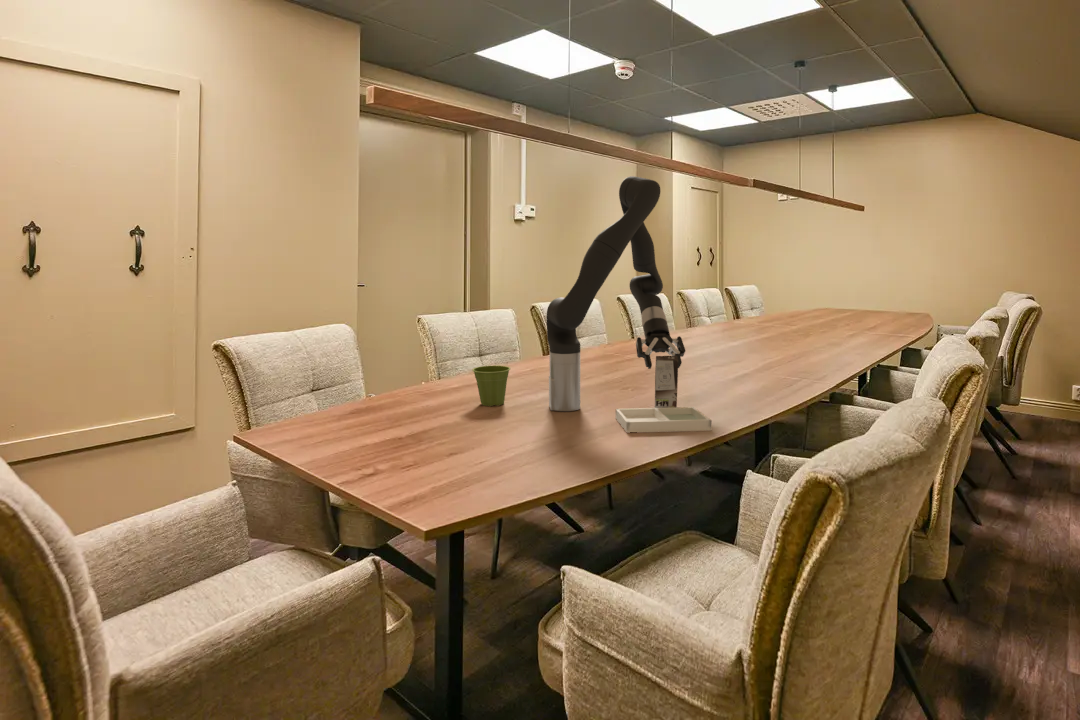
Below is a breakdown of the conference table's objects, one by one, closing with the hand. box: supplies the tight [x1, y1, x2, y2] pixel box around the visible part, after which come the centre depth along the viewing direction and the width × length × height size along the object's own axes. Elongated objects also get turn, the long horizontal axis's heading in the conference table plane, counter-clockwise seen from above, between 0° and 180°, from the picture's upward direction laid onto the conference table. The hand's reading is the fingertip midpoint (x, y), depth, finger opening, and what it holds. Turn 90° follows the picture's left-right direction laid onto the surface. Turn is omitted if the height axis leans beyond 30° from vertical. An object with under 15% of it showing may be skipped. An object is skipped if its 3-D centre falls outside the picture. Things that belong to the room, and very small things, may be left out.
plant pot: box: [471, 365, 511, 407], centre depth 191 cm, size 12×12×11 cm
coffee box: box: [654, 355, 679, 408], centre depth 180 cm, size 9×6×16 cm
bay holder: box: [615, 406, 713, 434], centre depth 167 cm, size 22×15×3 cm, turn 94°
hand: (664, 367), depth 182 cm, fingers open, 8 cm apart
